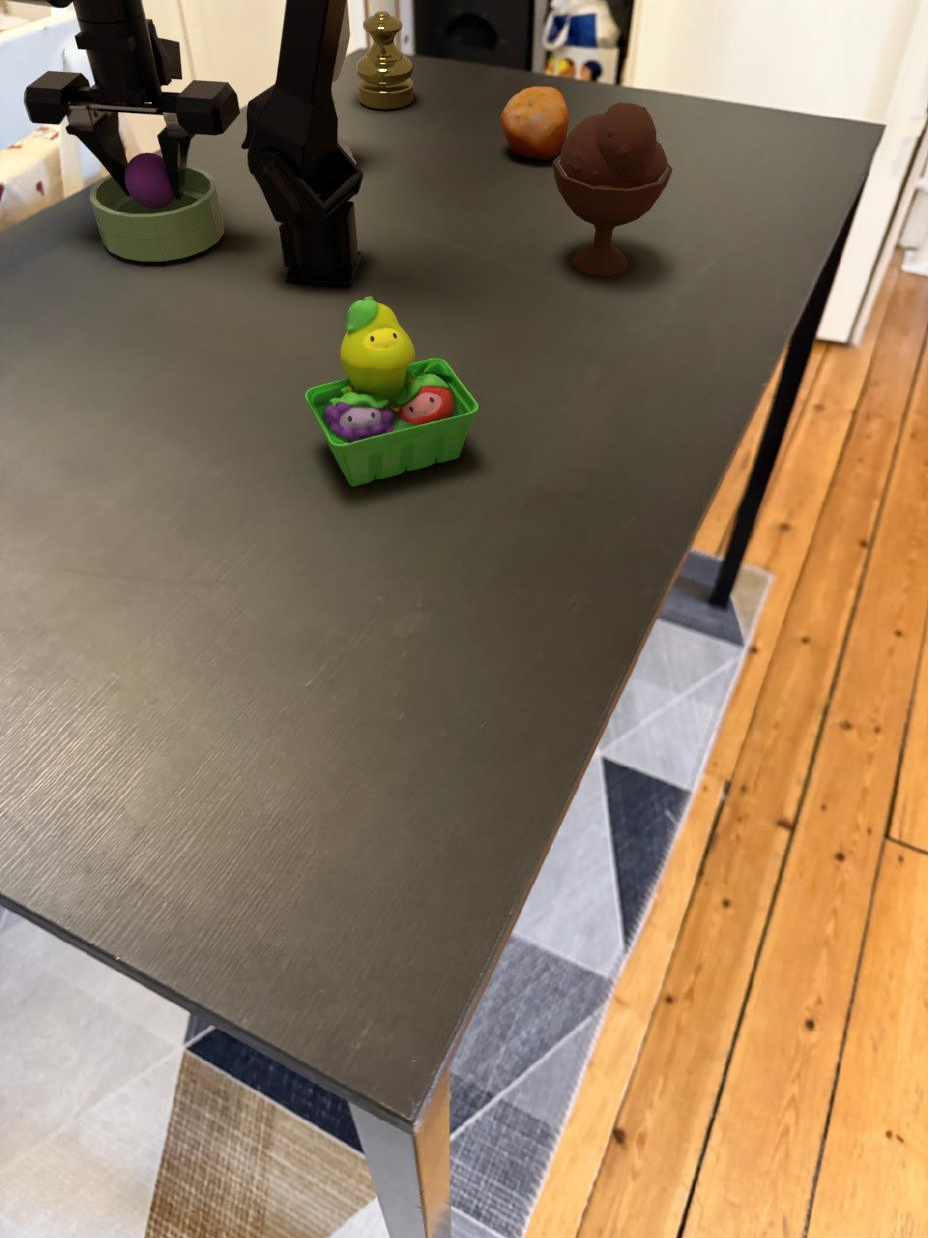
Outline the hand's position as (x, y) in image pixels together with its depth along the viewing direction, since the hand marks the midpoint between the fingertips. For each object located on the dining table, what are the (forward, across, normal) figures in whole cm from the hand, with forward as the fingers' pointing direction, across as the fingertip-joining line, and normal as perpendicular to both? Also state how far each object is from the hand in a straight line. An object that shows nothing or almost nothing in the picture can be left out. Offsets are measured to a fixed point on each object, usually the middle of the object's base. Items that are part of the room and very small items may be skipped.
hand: (155, 195), depth 89 cm
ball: (-2, 0, 0) cm, 2 cm away
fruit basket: (+4, -30, +31) cm, 43 cm away
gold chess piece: (+4, -15, -42) cm, 45 cm away
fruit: (+4, -36, -28) cm, 46 cm away
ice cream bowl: (+4, -45, -2) cm, 45 cm away
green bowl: (+4, 0, 0) cm, 4 cm away
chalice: (+4, -13, -21) cm, 25 cm away
